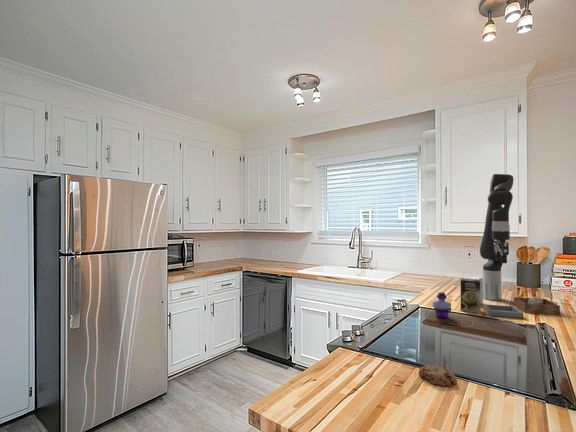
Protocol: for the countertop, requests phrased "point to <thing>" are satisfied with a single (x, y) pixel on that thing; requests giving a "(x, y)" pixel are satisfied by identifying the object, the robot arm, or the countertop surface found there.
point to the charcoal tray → (503, 311)
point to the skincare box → (480, 286)
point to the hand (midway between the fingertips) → (501, 262)
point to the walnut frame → (537, 306)
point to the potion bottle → (442, 306)
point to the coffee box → (470, 295)
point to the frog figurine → (535, 300)
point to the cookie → (438, 375)
